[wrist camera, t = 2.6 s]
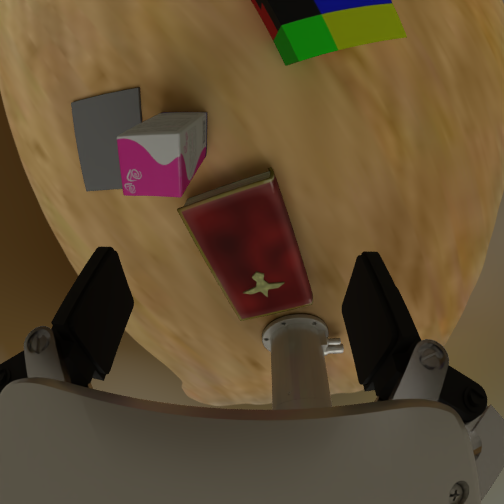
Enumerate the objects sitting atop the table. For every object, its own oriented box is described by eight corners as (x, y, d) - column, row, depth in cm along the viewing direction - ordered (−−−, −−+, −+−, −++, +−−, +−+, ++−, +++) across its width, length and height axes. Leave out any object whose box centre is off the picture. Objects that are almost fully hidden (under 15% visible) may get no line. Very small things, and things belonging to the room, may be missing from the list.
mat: (139, 87, 26) (138, 87, 26) (149, 185, 34) (148, 187, 33) (73, 102, 26) (71, 102, 26) (88, 189, 34) (86, 191, 33)
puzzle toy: (330, -26, 17) (357, -57, 9) (365, 43, 22) (406, 37, 14) (247, -6, 20) (244, -37, 12) (285, 65, 25) (299, 61, 17)
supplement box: (158, 112, 28) (114, 134, 19) (208, 111, 28) (183, 131, 19) (159, 157, 32) (121, 197, 22) (206, 158, 32) (185, 199, 23)
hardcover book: (272, 165, 33) (274, 178, 29) (310, 286, 44) (314, 305, 41) (184, 195, 35) (176, 211, 32) (241, 303, 47) (240, 322, 44)
